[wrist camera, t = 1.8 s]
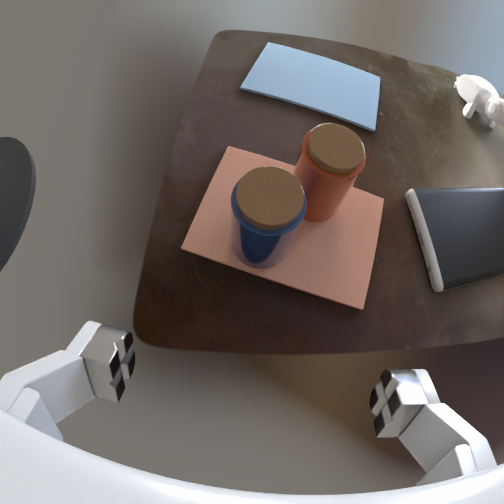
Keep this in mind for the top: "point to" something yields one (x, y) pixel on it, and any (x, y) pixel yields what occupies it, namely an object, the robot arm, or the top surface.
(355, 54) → the top surface
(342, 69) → the blue mat
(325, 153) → the terracotta jar
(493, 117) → the white sheep figurine
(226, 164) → the clay mat
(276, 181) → the blue jar
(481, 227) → the smartphone
